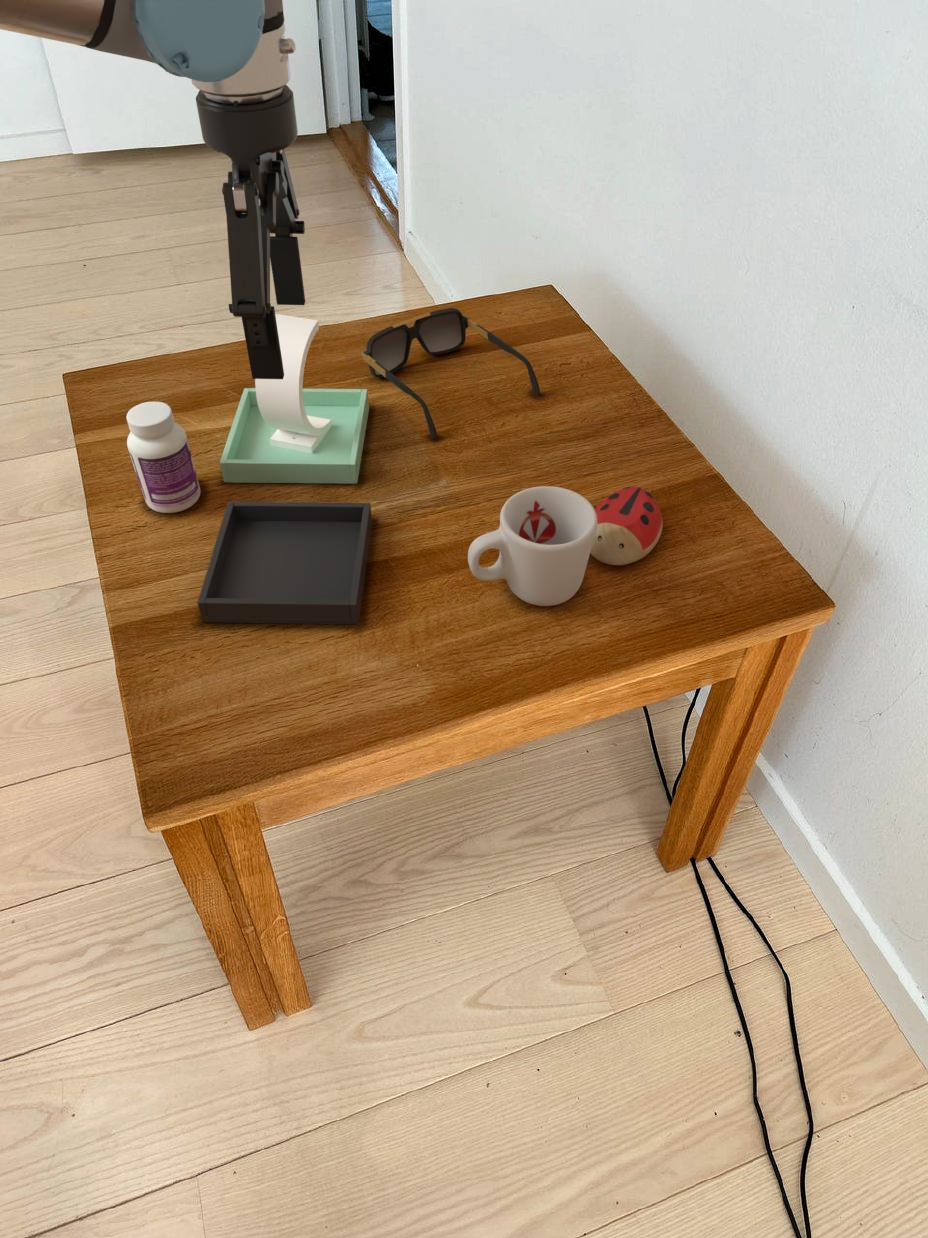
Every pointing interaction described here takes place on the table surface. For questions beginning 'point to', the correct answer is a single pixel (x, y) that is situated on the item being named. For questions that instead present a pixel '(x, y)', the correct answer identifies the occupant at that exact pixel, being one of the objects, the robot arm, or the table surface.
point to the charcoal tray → (288, 563)
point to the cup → (539, 545)
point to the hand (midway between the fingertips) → (280, 338)
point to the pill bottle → (161, 458)
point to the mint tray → (263, 463)
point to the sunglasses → (427, 347)
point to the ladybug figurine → (626, 526)
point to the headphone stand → (291, 390)
